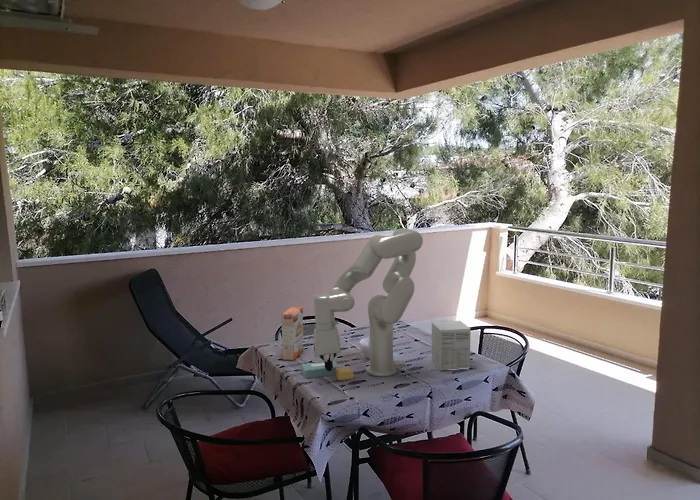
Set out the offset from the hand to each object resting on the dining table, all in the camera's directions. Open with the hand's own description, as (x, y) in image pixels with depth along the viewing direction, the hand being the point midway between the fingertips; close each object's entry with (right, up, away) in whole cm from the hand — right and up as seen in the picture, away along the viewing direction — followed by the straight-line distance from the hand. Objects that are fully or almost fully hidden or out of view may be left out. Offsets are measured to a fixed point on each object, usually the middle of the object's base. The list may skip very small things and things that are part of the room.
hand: (329, 369), depth 213 cm
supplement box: (+50, -1, +14) cm, 53 cm away
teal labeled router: (-4, -3, +7) cm, 8 cm away
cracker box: (-17, 0, +29) cm, 34 cm away
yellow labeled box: (+6, -3, +2) cm, 7 cm away
